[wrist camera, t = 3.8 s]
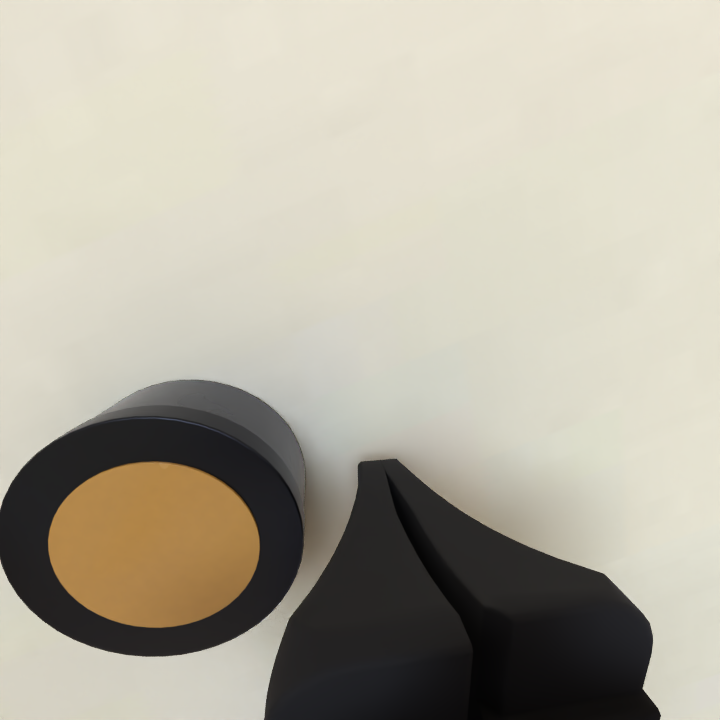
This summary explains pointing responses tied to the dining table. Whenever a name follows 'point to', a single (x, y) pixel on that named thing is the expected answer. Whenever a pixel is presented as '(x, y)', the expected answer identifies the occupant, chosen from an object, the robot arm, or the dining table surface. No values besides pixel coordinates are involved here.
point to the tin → (159, 521)
